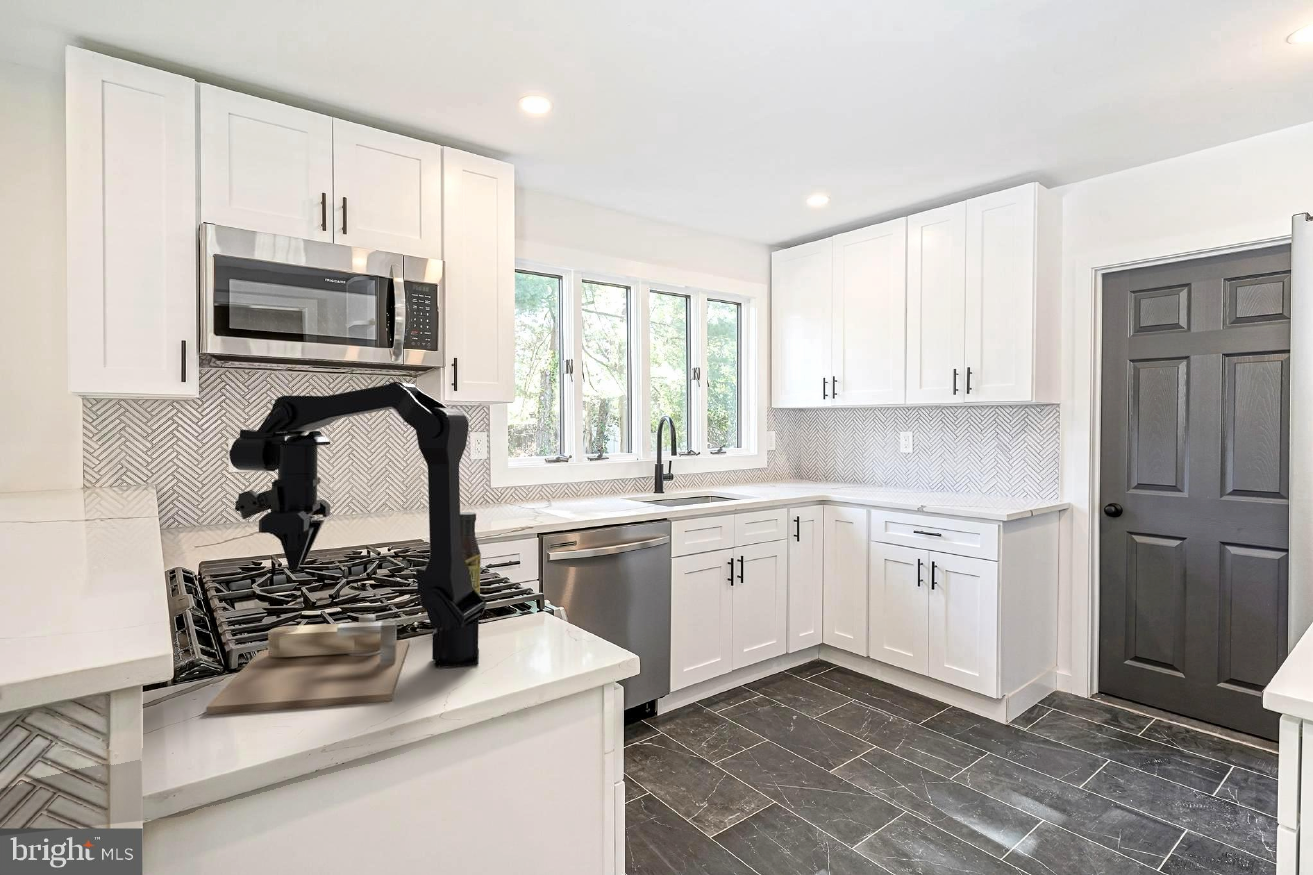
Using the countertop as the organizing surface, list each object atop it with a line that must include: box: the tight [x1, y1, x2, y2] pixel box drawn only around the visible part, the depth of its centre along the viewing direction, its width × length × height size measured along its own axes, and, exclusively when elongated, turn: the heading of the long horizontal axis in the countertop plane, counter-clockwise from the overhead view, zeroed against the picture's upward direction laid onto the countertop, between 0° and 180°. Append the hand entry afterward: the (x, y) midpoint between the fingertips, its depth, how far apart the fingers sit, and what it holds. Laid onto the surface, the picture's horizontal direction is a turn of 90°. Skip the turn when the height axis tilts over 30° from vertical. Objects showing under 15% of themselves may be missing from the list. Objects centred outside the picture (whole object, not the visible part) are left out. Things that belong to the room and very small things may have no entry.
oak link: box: [267, 620, 381, 657], centre depth 105 cm, size 16×5×4 cm, turn 104°
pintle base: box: [205, 613, 411, 716], centre depth 98 cm, size 22×22×7 cm
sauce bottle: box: [460, 511, 482, 596], centre depth 129 cm, size 6×6×20 cm
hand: (296, 567), depth 110 cm, fingers open, 4 cm apart
